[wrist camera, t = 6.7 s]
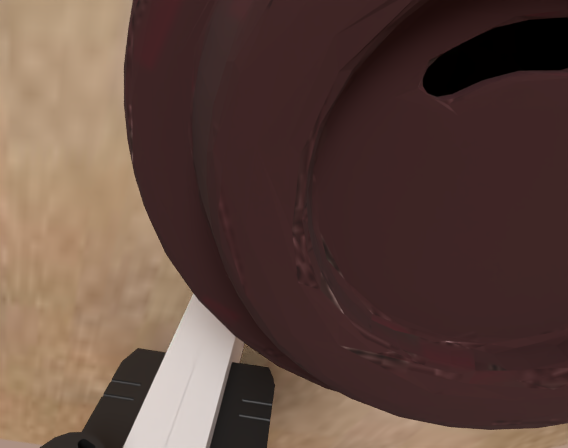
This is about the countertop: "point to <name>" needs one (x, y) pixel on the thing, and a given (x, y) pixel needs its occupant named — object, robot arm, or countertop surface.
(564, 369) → the coffee cup
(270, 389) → the robot arm
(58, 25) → the countertop surface
